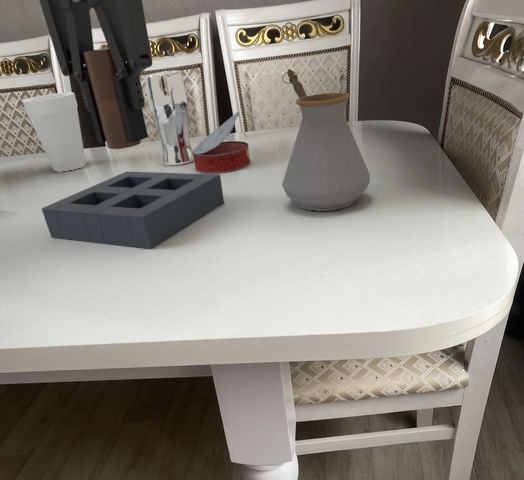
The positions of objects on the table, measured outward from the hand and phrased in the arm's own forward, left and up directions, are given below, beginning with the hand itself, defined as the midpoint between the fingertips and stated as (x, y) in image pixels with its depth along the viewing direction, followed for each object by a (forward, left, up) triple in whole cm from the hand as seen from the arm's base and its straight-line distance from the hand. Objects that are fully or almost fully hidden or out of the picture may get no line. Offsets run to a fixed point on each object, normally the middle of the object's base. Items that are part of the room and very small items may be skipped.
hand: (123, 139), depth 62 cm
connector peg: (0, 0, -1) cm, 1 cm away
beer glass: (-18, +33, -12) cm, 39 cm away
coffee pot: (+16, +19, -12) cm, 27 cm away
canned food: (-7, +31, -12) cm, 33 cm away
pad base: (-4, +4, -11) cm, 13 cm away
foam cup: (-41, +27, -12) cm, 50 cm away
